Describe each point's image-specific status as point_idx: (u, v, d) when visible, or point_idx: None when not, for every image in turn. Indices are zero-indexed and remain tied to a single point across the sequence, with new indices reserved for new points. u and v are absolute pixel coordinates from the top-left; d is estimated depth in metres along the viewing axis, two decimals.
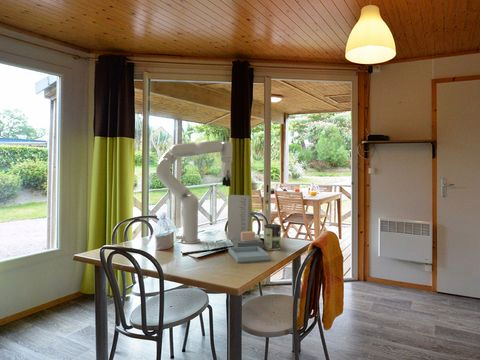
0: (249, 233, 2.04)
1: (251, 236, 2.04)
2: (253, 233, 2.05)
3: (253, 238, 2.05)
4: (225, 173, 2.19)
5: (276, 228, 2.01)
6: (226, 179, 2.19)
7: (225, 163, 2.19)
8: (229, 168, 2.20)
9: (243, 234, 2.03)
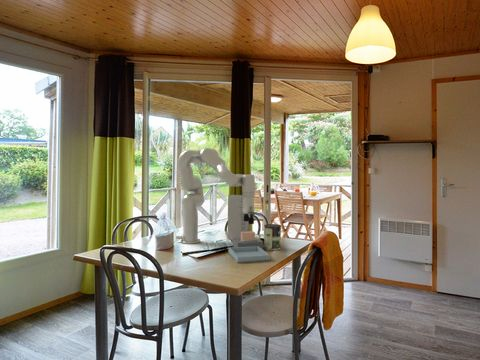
0: (249, 233, 2.04)
1: (251, 236, 2.04)
2: (253, 233, 2.05)
3: (253, 238, 2.05)
4: (248, 210, 1.99)
5: (276, 228, 2.01)
6: (249, 216, 1.99)
7: (247, 199, 1.99)
8: (252, 204, 2.00)
9: (243, 234, 2.03)
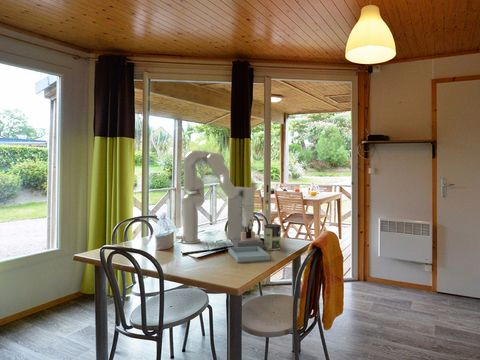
0: None
1: (251, 236, 2.04)
2: (253, 233, 2.05)
3: (253, 238, 2.05)
4: (247, 223, 1.99)
5: (276, 228, 2.01)
6: (247, 230, 2.02)
7: (247, 212, 2.00)
8: (251, 217, 2.00)
9: (243, 234, 2.03)
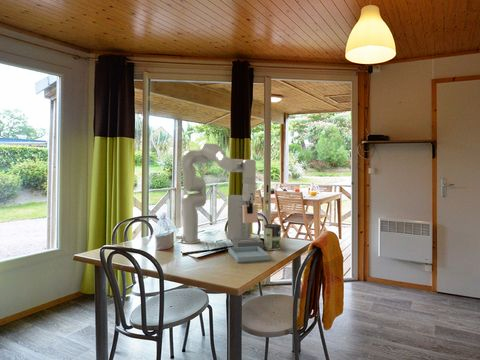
0: None
1: (254, 209, 1.91)
2: (256, 206, 1.92)
3: (256, 211, 1.92)
4: (248, 197, 1.86)
5: (276, 228, 2.01)
6: (248, 205, 1.89)
7: (248, 185, 1.87)
8: (253, 191, 1.87)
9: (245, 207, 1.90)
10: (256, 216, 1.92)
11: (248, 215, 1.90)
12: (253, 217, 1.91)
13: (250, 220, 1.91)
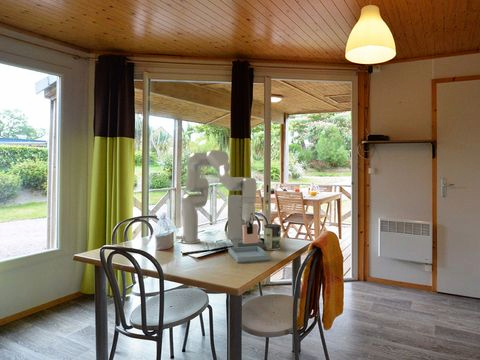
0: None
1: (254, 229, 1.85)
2: (256, 226, 1.85)
3: (256, 231, 1.86)
4: (248, 217, 1.80)
5: (276, 228, 2.01)
6: (248, 225, 1.83)
7: (248, 205, 1.81)
8: (253, 211, 1.81)
9: (245, 227, 1.84)
10: (256, 236, 1.86)
11: (248, 235, 1.85)
12: (253, 237, 1.85)
13: (250, 240, 1.85)
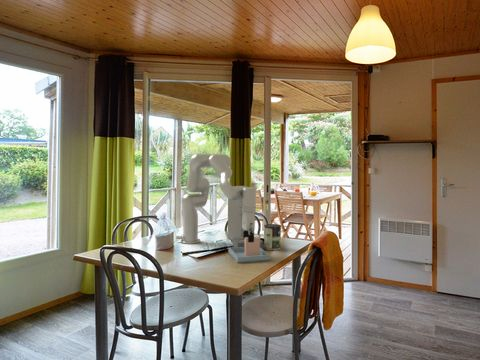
0: (254, 239, 1.86)
1: (256, 242, 1.86)
2: (258, 239, 1.86)
3: (258, 244, 1.86)
4: (248, 226, 1.81)
5: (276, 228, 2.01)
6: (249, 234, 1.81)
7: (248, 214, 1.81)
8: (252, 220, 1.81)
9: (247, 240, 1.85)
10: (258, 249, 1.87)
11: (250, 248, 1.85)
12: (255, 250, 1.86)
13: (252, 253, 1.86)
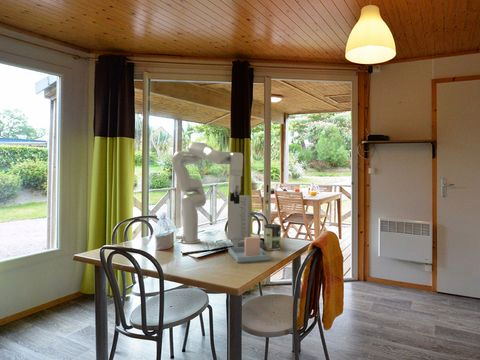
0: (254, 239, 1.86)
1: (256, 242, 1.86)
2: (258, 239, 1.86)
3: (258, 244, 1.86)
4: (234, 189, 1.92)
5: (276, 228, 2.01)
6: (235, 196, 1.92)
7: (234, 177, 1.93)
8: (238, 183, 1.93)
9: (247, 240, 1.85)
10: (258, 249, 1.87)
11: (250, 248, 1.85)
12: (255, 250, 1.86)
13: (252, 253, 1.86)
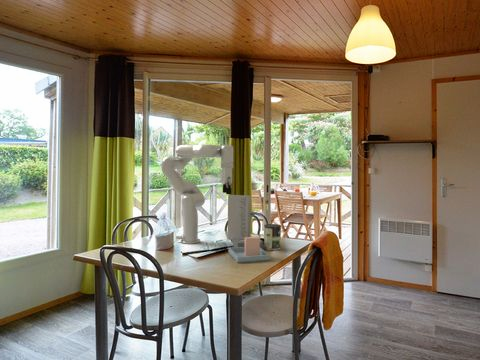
0: (254, 239, 1.86)
1: (256, 242, 1.86)
2: (258, 239, 1.86)
3: (258, 244, 1.86)
4: (225, 180, 2.01)
5: (276, 228, 2.01)
6: (226, 186, 2.01)
7: (225, 169, 2.01)
8: (230, 174, 2.01)
9: (247, 240, 1.85)
10: (258, 249, 1.87)
11: (250, 248, 1.85)
12: (255, 250, 1.86)
13: (252, 253, 1.86)
